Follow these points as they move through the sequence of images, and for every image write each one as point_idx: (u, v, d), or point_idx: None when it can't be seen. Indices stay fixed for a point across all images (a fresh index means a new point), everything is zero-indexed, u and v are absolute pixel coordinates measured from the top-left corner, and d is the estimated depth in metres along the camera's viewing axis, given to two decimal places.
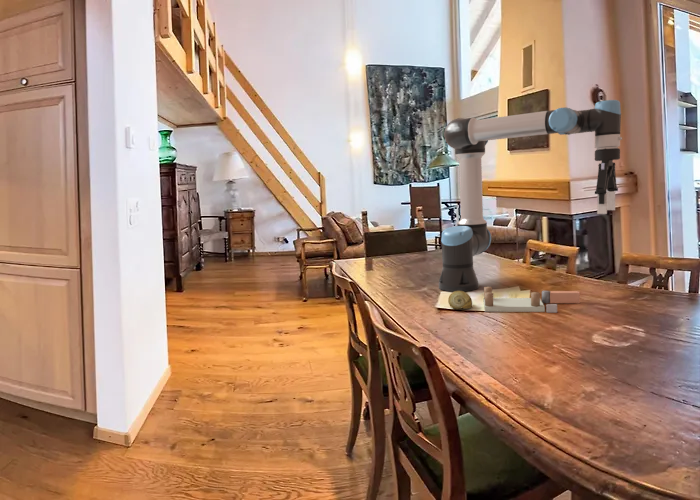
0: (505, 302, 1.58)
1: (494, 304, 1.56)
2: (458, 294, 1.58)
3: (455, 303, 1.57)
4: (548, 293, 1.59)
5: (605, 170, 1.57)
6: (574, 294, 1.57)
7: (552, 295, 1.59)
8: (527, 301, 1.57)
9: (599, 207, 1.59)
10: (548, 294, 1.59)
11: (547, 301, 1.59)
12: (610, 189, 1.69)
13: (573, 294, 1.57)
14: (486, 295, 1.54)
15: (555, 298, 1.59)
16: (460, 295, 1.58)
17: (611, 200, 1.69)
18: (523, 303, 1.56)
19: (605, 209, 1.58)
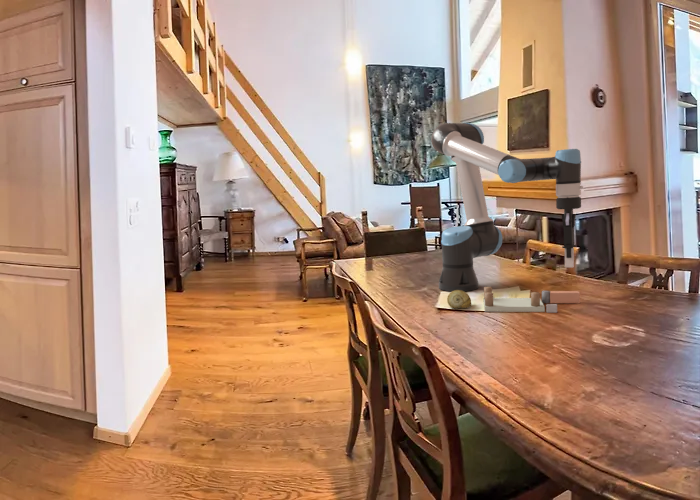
0: (505, 302, 1.58)
1: (494, 304, 1.56)
2: (457, 293, 1.59)
3: (453, 302, 1.58)
4: (548, 293, 1.59)
5: (570, 226, 1.56)
6: (574, 294, 1.57)
7: (552, 295, 1.59)
8: (527, 301, 1.57)
9: (566, 260, 1.62)
10: (548, 294, 1.59)
11: (547, 301, 1.59)
12: None
13: (573, 294, 1.57)
14: (486, 295, 1.54)
15: (555, 298, 1.59)
16: (459, 294, 1.59)
17: None
18: (523, 303, 1.56)
19: (572, 263, 1.62)
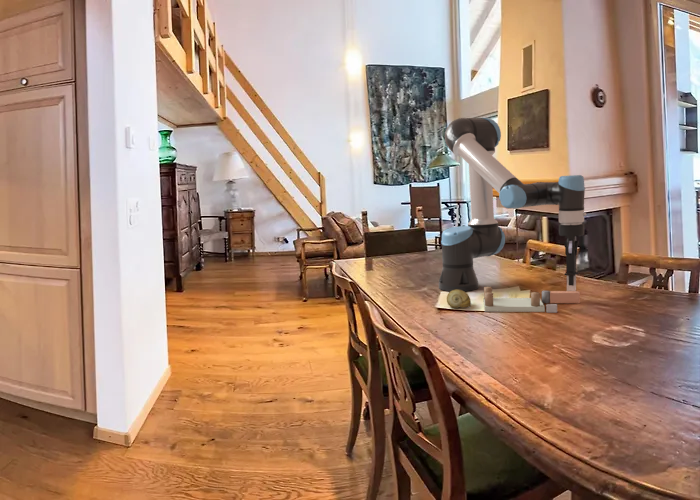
0: (505, 302, 1.58)
1: (494, 304, 1.56)
2: (456, 293, 1.60)
3: (452, 301, 1.59)
4: (548, 293, 1.59)
5: (573, 254, 1.53)
6: (574, 294, 1.57)
7: (552, 295, 1.59)
8: (527, 301, 1.57)
9: (569, 287, 1.60)
10: (548, 294, 1.59)
11: (547, 301, 1.59)
12: None
13: (573, 294, 1.57)
14: (486, 295, 1.54)
15: (555, 298, 1.59)
16: (458, 294, 1.60)
17: None
18: (523, 303, 1.56)
19: (574, 290, 1.59)
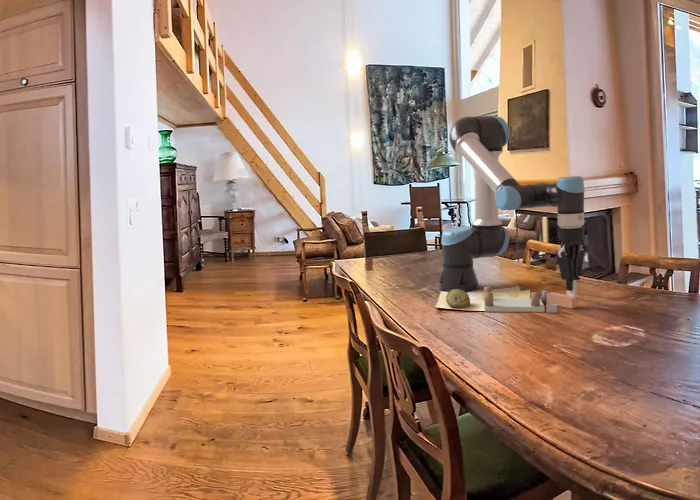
0: (505, 302, 1.58)
1: (494, 304, 1.56)
2: (455, 292, 1.61)
3: (451, 301, 1.60)
4: (545, 293, 1.59)
5: (563, 259, 1.49)
6: (567, 298, 1.52)
7: (548, 296, 1.58)
8: (527, 301, 1.57)
9: (568, 292, 1.54)
10: (545, 294, 1.59)
11: (544, 301, 1.60)
12: None
13: (566, 298, 1.53)
14: (486, 295, 1.54)
15: (551, 299, 1.57)
16: (457, 293, 1.61)
17: None
18: (523, 303, 1.56)
19: None
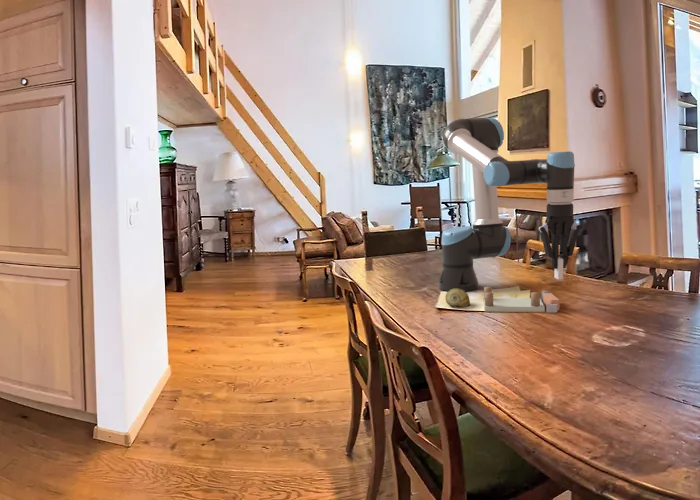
0: (505, 302, 1.58)
1: (494, 304, 1.56)
2: (454, 291, 1.62)
3: (451, 300, 1.61)
4: (543, 293, 1.60)
5: (543, 235, 1.48)
6: (549, 300, 1.52)
7: (543, 296, 1.58)
8: (527, 301, 1.57)
9: (555, 271, 1.52)
10: (543, 294, 1.60)
11: (542, 300, 1.60)
12: (561, 255, 1.51)
13: (549, 300, 1.52)
14: (486, 295, 1.54)
15: (544, 299, 1.58)
16: (456, 293, 1.61)
17: None
18: (523, 303, 1.56)
19: (558, 274, 1.50)
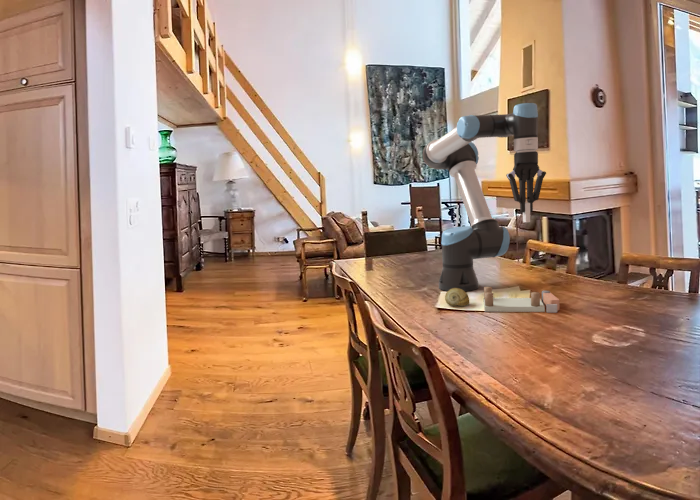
0: (505, 302, 1.58)
1: (494, 304, 1.56)
2: (454, 291, 1.63)
3: (450, 299, 1.62)
4: (543, 293, 1.60)
5: (511, 181, 1.62)
6: (549, 300, 1.52)
7: (543, 296, 1.58)
8: (527, 301, 1.57)
9: (523, 215, 1.65)
10: (543, 294, 1.60)
11: (542, 300, 1.60)
12: (528, 200, 1.64)
13: (549, 300, 1.52)
14: (486, 295, 1.54)
15: (544, 299, 1.58)
16: (455, 292, 1.62)
17: None
18: (523, 303, 1.56)
19: (525, 218, 1.63)
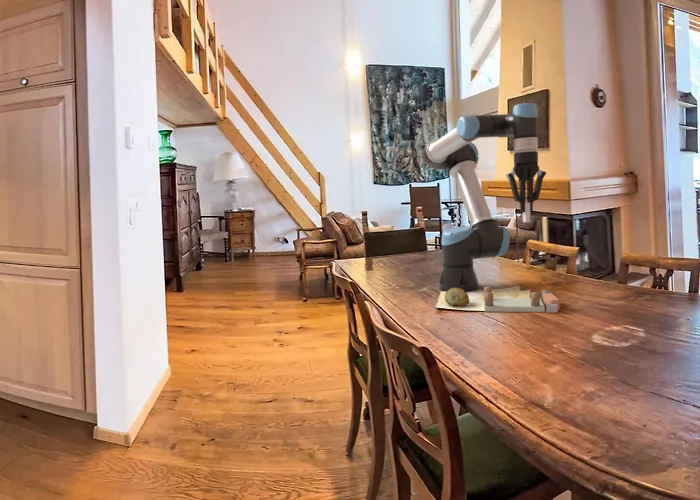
0: (505, 302, 1.58)
1: (494, 304, 1.56)
2: (453, 291, 1.63)
3: (449, 299, 1.62)
4: (543, 293, 1.60)
5: (511, 180, 1.62)
6: (549, 300, 1.52)
7: (543, 296, 1.58)
8: (527, 301, 1.57)
9: (523, 215, 1.65)
10: (543, 294, 1.60)
11: (542, 300, 1.60)
12: (528, 200, 1.64)
13: (549, 300, 1.52)
14: (486, 295, 1.54)
15: (544, 299, 1.58)
16: (455, 292, 1.63)
17: None
18: (523, 303, 1.56)
19: (525, 217, 1.64)
